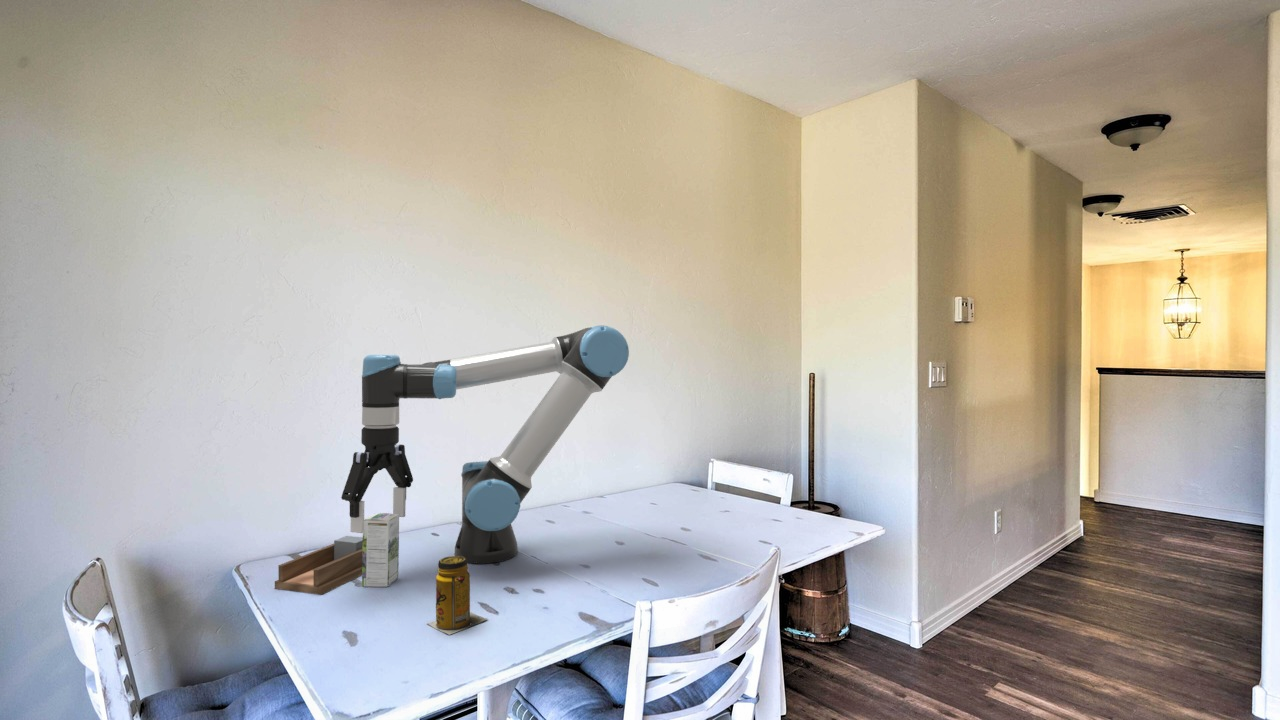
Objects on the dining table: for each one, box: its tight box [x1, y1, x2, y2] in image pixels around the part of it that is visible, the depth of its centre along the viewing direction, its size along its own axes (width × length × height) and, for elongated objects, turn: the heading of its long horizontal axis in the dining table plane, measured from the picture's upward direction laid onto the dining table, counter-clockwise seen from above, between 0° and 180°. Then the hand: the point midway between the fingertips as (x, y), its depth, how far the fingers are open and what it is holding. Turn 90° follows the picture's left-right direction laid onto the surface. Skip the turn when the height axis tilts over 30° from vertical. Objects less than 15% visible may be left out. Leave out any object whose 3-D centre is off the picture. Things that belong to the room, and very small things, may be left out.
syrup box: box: [361, 512, 400, 588], centre depth 140 cm, size 6×6×14 cm
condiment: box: [426, 555, 488, 636], centre depth 120 cm, size 7×8×12 cm
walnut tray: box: [274, 543, 362, 596], centre depth 144 cm, size 12×19×5 cm, turn 164°
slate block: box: [333, 535, 363, 561], centre depth 150 cm, size 6×4×5 cm, turn 74°
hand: (379, 524), depth 140 cm, fingers open, 13 cm apart
